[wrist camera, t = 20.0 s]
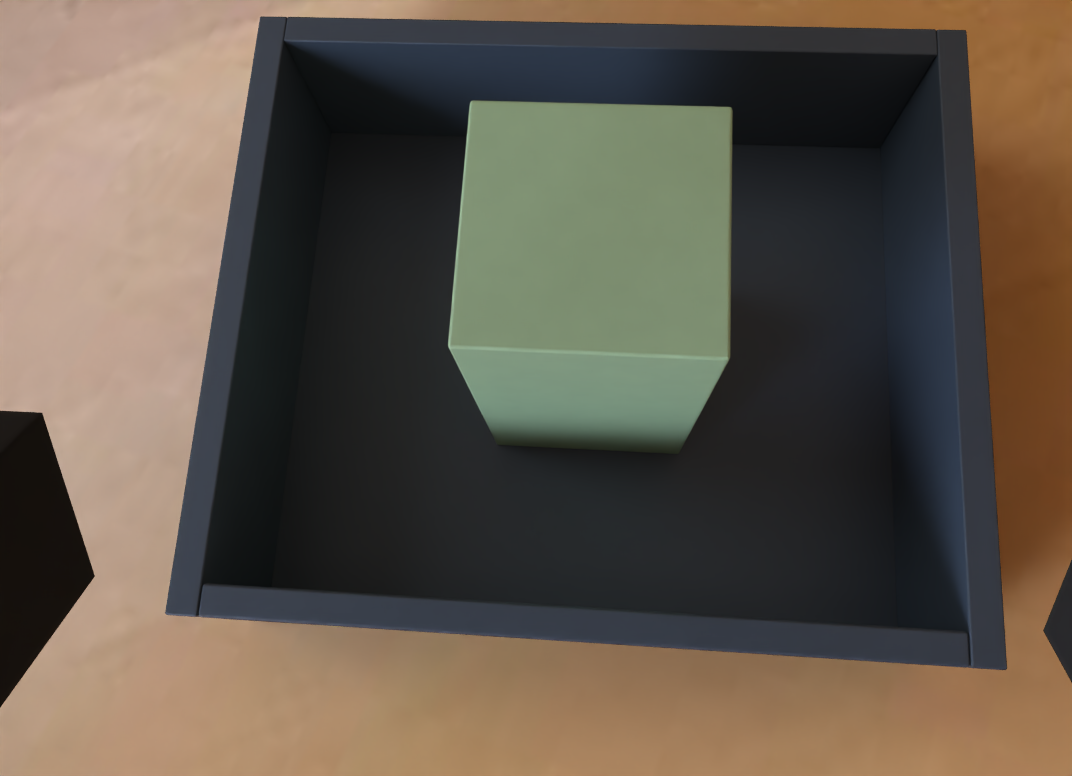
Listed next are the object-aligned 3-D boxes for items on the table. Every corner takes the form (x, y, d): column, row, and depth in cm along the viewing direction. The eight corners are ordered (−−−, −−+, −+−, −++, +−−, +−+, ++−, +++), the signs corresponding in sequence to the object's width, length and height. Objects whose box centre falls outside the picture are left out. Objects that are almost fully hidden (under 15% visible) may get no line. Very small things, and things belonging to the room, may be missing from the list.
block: (496, 444, 27) (446, 348, 18) (508, 274, 29) (469, 98, 19) (679, 454, 27) (730, 360, 17) (683, 281, 28) (733, 105, 19)
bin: (248, 616, 27) (164, 614, 22) (316, 121, 31) (259, 15, 26) (920, 660, 26) (1008, 669, 20) (898, 136, 30) (966, 29, 24)
